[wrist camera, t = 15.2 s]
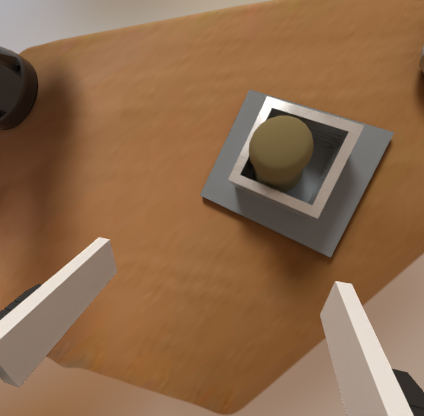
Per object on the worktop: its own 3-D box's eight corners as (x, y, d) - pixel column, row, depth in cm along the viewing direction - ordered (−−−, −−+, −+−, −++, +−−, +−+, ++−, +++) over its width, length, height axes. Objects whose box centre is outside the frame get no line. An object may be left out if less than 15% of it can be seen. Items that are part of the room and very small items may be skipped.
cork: (263, 201, 27) (257, 192, 16) (246, 159, 28) (230, 125, 17) (310, 182, 25) (338, 160, 15) (291, 138, 26) (304, 88, 16)
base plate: (202, 196, 30) (200, 195, 29) (250, 94, 29) (249, 89, 28) (328, 256, 25) (330, 257, 24) (389, 135, 25) (394, 132, 24)
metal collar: (234, 187, 28) (227, 179, 23) (267, 118, 27) (267, 96, 23) (308, 219, 25) (317, 218, 20) (345, 144, 25) (364, 125, 20)
